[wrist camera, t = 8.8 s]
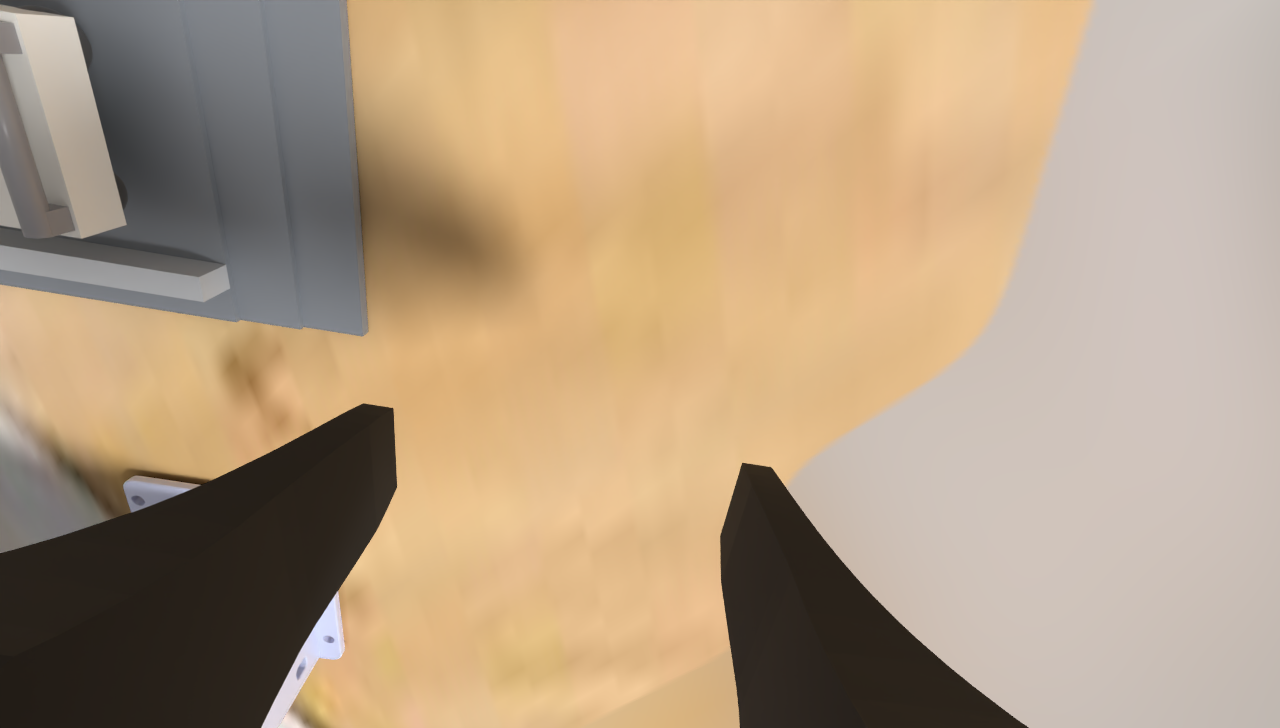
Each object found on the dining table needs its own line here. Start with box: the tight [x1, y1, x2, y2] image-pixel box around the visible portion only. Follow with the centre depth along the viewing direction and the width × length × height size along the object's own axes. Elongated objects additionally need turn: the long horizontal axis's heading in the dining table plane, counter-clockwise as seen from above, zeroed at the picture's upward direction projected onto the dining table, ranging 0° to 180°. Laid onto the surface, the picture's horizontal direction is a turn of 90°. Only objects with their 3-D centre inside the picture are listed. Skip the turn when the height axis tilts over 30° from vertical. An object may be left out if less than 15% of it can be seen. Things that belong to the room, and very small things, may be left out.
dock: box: [0, 0, 368, 336], centre depth 16 cm, size 12×16×2 cm
